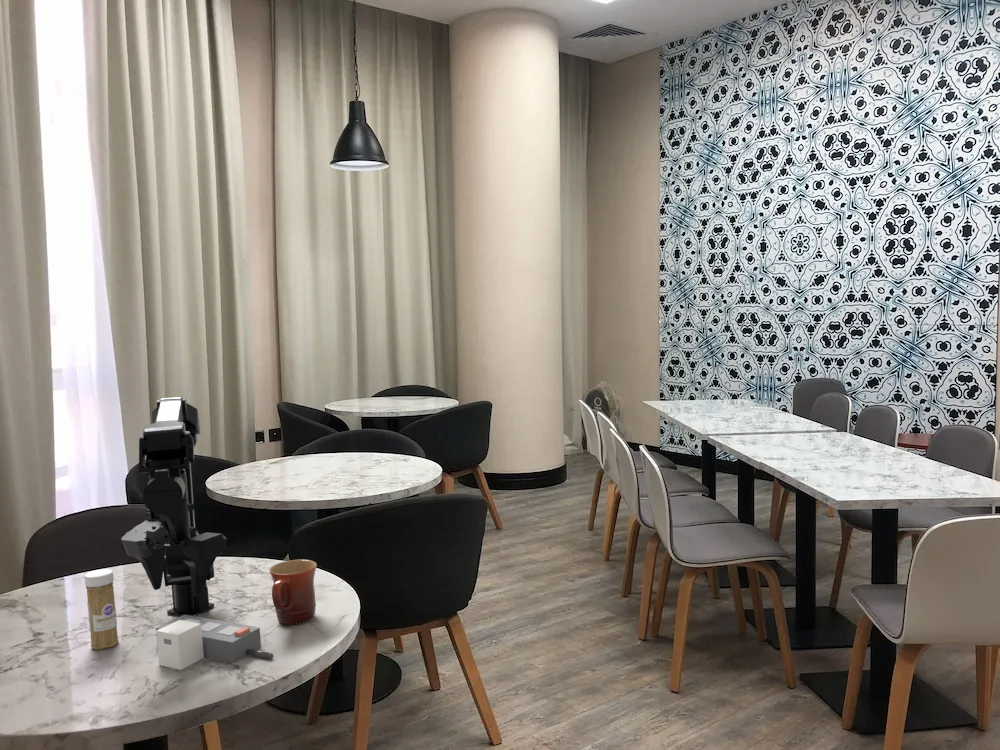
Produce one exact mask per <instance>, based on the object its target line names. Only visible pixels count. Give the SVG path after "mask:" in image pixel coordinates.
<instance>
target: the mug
mask: <svg viewBox="0 0 1000 750" xmlns="http://www.w3.org/2000/svg"><path fill="white" fill-rule="evenodd" d="M317 566H318V564H317V562H315V561H313V560H311V559H293V560H285V561H282V562H279V563H276V564H274V565H272V566H271V567H269V574H270V576H271V580H272V582H273V584H272V587H271V597H272V604H273V606H274V608H275V610H274V611H275V613H276V617H277V621H278V622H280V623H281V624H282V625H286V626H296V625H301V624H304V623H305V624H306V623H307V622H309V621H312V619H313V618H314V617H315V615H316V608H317V607H316V606H317V603H316V592H315V591H316V590H315V575H316V570H317Z"/></svg>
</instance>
